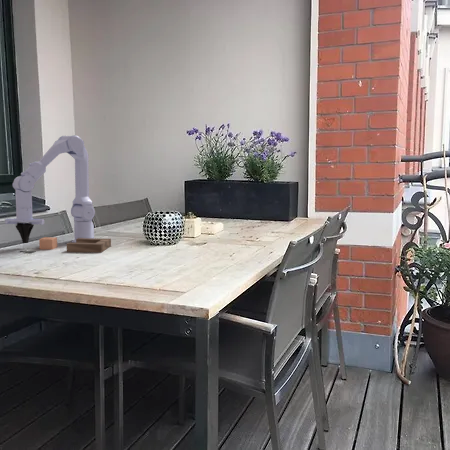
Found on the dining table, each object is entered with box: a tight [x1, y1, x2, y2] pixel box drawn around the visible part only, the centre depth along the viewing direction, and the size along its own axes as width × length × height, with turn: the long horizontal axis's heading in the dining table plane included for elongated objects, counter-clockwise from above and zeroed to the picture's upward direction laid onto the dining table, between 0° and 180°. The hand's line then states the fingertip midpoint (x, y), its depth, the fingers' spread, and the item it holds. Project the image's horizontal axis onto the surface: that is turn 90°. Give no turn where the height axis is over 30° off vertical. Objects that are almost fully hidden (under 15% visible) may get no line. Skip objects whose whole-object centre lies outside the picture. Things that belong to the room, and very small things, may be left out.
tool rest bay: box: [66, 237, 112, 254], centre depth 197 cm, size 14×13×3 cm
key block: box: [38, 236, 58, 250], centre depth 197 cm, size 5×5×4 cm
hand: (25, 242), depth 198 cm, fingers closed
